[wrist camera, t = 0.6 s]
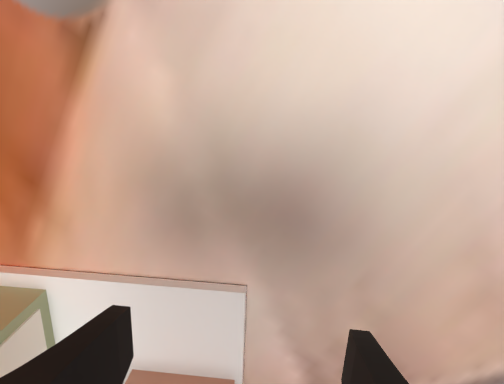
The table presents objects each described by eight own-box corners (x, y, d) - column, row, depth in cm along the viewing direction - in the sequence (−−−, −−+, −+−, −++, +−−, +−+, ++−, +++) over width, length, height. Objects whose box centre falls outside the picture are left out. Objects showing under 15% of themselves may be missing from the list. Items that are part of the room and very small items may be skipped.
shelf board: (241, 439, 27) (236, 473, 25) (-38, 407, 29) (-66, 436, 27) (246, 285, 23) (242, 309, 21) (-81, 258, 25) (-118, 277, 22)
